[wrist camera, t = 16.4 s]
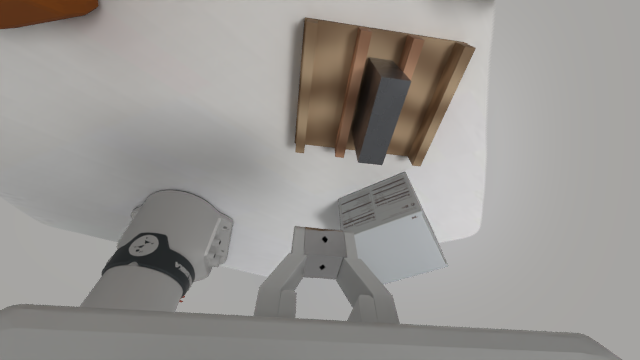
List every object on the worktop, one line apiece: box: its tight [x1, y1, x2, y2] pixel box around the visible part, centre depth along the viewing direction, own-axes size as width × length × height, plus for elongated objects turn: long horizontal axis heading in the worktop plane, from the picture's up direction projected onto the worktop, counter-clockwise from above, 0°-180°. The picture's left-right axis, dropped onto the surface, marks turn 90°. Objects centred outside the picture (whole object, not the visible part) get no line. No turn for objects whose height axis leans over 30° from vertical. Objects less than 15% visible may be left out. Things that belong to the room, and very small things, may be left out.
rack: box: [295, 17, 475, 166], centre depth 33 cm, size 16×19×4 cm
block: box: [352, 57, 411, 165], centre depth 30 cm, size 10×3×8 cm, turn 172°
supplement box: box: [338, 172, 448, 284], centre depth 45 cm, size 17×13×9 cm
